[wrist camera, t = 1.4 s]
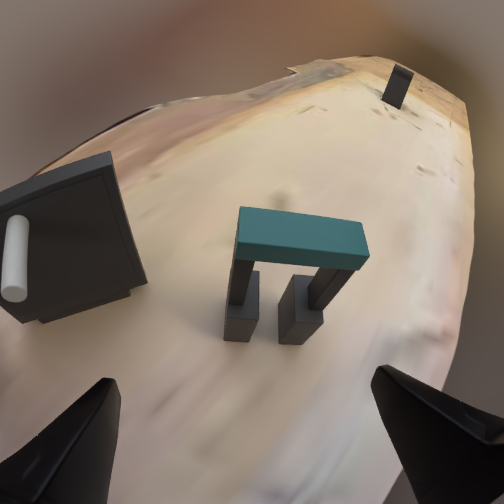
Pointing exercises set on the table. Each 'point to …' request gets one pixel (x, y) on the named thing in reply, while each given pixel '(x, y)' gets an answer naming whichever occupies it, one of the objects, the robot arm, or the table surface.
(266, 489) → the table surface
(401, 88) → the phone stand
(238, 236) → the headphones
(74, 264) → the dark panel
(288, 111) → the table surface
